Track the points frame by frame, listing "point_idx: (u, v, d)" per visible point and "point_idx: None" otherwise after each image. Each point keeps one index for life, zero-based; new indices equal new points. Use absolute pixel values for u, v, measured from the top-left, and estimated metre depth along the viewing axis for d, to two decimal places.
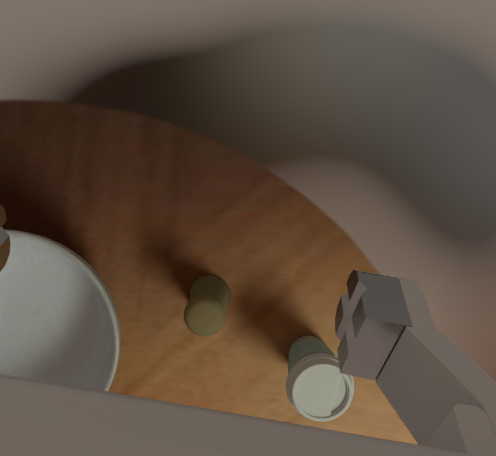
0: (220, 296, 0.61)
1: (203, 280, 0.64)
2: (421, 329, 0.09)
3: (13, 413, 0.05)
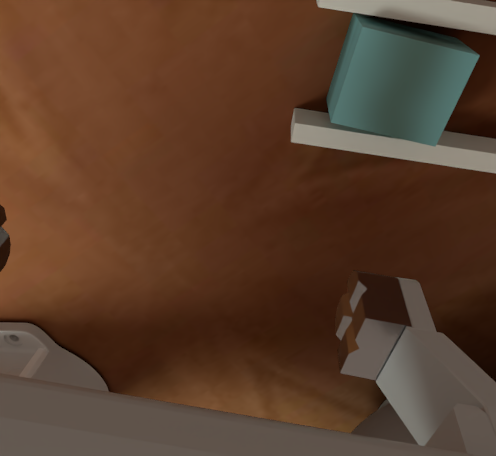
0: None
1: None
2: (421, 329, 0.09)
3: (13, 414, 0.05)
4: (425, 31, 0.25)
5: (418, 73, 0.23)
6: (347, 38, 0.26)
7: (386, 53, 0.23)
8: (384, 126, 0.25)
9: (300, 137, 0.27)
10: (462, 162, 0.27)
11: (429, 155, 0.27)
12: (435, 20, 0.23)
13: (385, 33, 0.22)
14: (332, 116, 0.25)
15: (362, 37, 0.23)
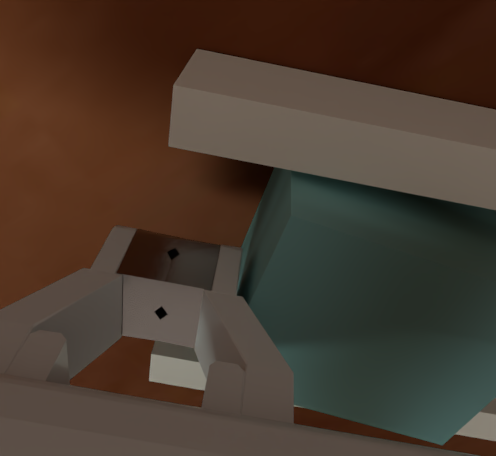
0: None
1: None
2: (219, 292, 0.09)
3: (14, 413, 0.05)
4: None
5: (428, 326, 0.09)
6: (272, 185, 0.11)
7: (350, 278, 0.09)
8: (334, 403, 0.11)
9: (166, 376, 0.13)
10: None
11: None
12: (471, 195, 0.09)
13: (352, 238, 0.08)
14: None
15: (291, 238, 0.08)
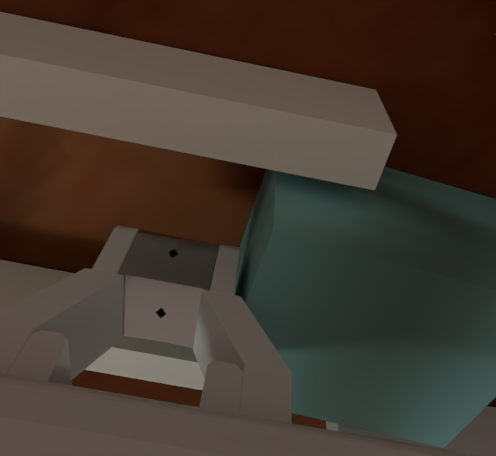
0: None
1: None
2: (217, 292, 0.09)
3: (12, 414, 0.05)
4: (437, 192, 0.11)
5: (419, 332, 0.09)
6: (261, 195, 0.11)
7: (337, 288, 0.09)
8: (332, 410, 0.11)
9: None
10: (161, 374, 0.13)
11: None
12: None
13: (336, 249, 0.08)
14: None
15: (275, 251, 0.08)
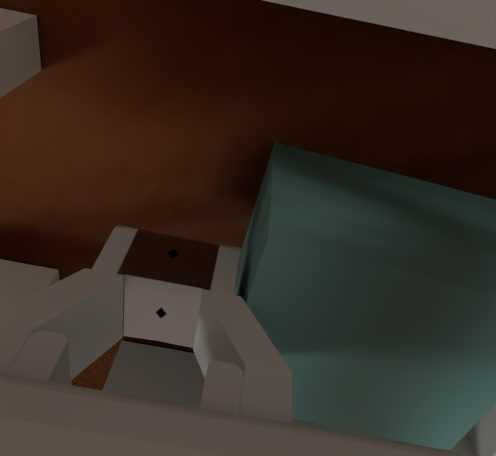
0: None
1: None
2: (218, 292, 0.09)
3: (12, 414, 0.05)
4: (435, 194, 0.11)
5: (418, 336, 0.09)
6: (259, 202, 0.11)
7: (334, 294, 0.09)
8: (335, 415, 0.11)
9: None
10: None
11: None
12: None
13: (331, 256, 0.08)
14: None
15: (271, 260, 0.08)
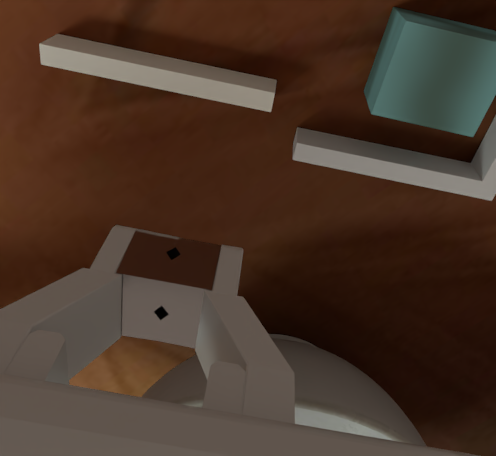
0: None
1: None
2: (220, 293, 0.09)
3: (12, 415, 0.05)
4: (464, 24, 0.26)
5: (459, 65, 0.24)
6: (387, 32, 0.26)
7: (428, 46, 0.24)
8: (423, 117, 0.26)
9: (48, 59, 0.27)
10: (210, 93, 0.27)
11: (177, 84, 0.27)
12: None
13: (428, 27, 0.23)
14: (372, 108, 0.26)
15: (405, 31, 0.23)
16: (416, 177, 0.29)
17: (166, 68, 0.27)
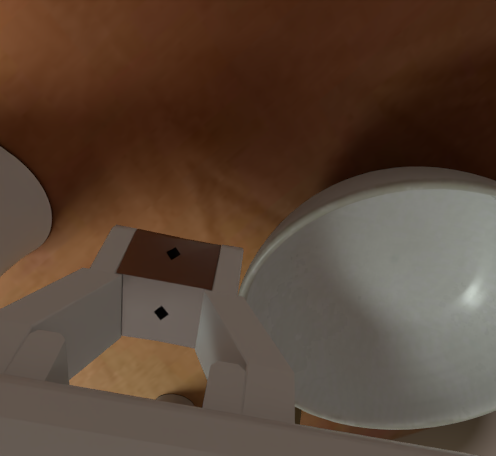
0: None
1: None
2: (220, 293, 0.09)
3: (13, 414, 0.05)
4: None
5: None
6: None
7: None
8: None
9: None
10: None
11: None
12: None
13: None
14: None
15: None
16: None
17: None
